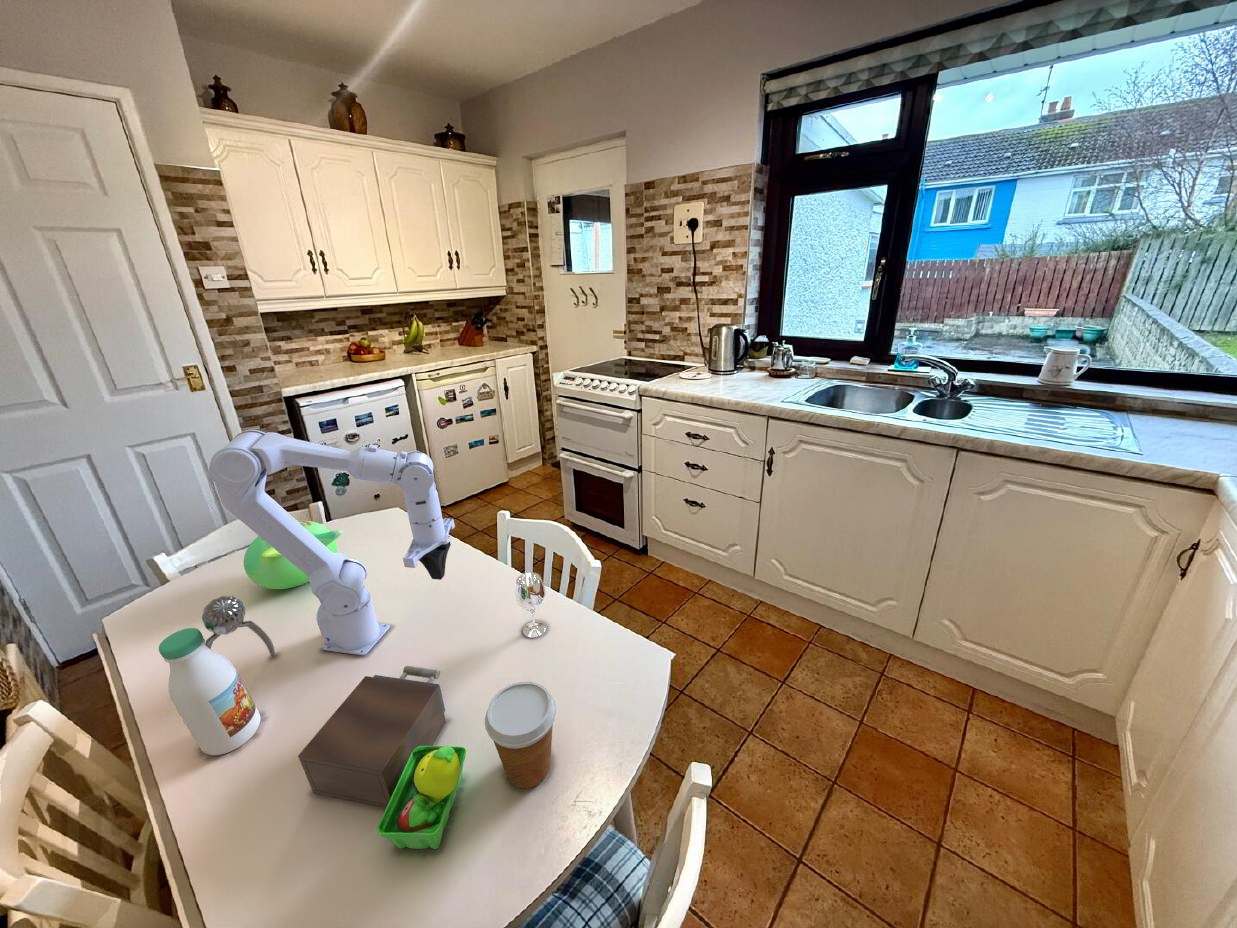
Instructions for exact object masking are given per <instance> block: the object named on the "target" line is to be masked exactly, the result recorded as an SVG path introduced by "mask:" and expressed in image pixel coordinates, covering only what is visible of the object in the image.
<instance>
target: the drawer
mask: <svg viewBox="0 0 1237 928" xmlns="http://www.w3.org/2000/svg"><path fill="white" fill-rule="evenodd" d="M440 675H441V670H440V669H435V668H426V667H420V666H412V665H405V666H404V668H403V669H402V674H401V675H400V677H392V676H385V675H379V674H374V675H373V677H376V678H382V679H389V680H396V681H402V682H409V683H416V684H422V685H429V686H436V687H438V690H439V694H440V698H441V702H442V707H443V711H444V714H445V713H446V708H445V703H444V699H443V698H444V697H443V695H442V694H443V693H442V689H441V685H440V683H434V681H435V680H438V679H439V678H440ZM408 676H410V677H411V676H412V677H418V678H425V679H427V681H419V680H413V679H406V678H407V677H408Z"/></svg>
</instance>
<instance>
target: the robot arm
mask: <svg viewBox="0 0 1237 928" xmlns="http://www.w3.org/2000/svg"><path fill="white" fill-rule="evenodd" d="M290 466H300V467H309V468H319V469H327V470H337V471H345V472H346V471H347V472H348V473H349V474H350V475H351V476H352V477H353V478H354V479H355V480H359V481H365V482H372V483H379V484H384V485H385V484H386V485H392V486H399V488H400V489H401V490H402V491H403V494H404V502H405V503H404V504H405V507H406V512H407V517H408V521H409V525H410V530H411V534H412V540H411V543H410V545H409V547H408V549H407V552H406V553H405V555H403V557H402V561H403V565H404V567H405V568H410V569H415V568H416V567H418V562H420V563H421V564H422V566H423V567H424V568H425V569H426V571H427V573H428V574H429V576H430V578H431V580H437V581H439V580H440V581H441V580H442V579H443V578H444V577H445V575H446V574H445V573H446V564H447V563H446V562H447V558H448V554H449V550H450V547H451V544H452V543H451V541H452V536H451V535H449V534H450V530H454V529H455V527H456V525H455V520H454V518H448V517H447V518H446V517H445V518H443V513H442V508H441V504H440V498H439V497H440V496H439V492H438V490H437V485H436V482H435V475H434V469H435V468H434V467H435V466H434V463H433V460H432V458H431V457H430V456H429V455H428V454H426V453H424V452H421V451H419V450H411V451H405V450H404V451H403V450H401V451H400V452H396V451H391V450H385V449H379V448H378V445H377V444H369V445H368V446H363V445H361V446H359V447H358V448H356V449H354V450H347V449H342V448H338V447H334V446H329V445H325V444H321V443H316V442H312V441H308V440H302V439H298V438H293V437H289V436H286V435H284V434H281V433H278V432H269V431H267V432H264V431H262V430H258V429H247V430H243V431H240V432H239V433H238V434H236V435H235V436H234V437H233V438H232V440H231V441H230V442H229V443H227V444H226V445H225V446H224V447H223V448H220V449H218V450H217V451H216V452H214V454H213V455H212V457H211V459H210V462H209V467H208V471H207V478H209V479H210V480H211V481H212V482H214V484H215V487H216V490H217V493H218V495H219V498H220V499H219V500H220V501H221V504H222V505H223V507H224V508H225V509H226V510H227V511H228V512H229V513H231V514H232V515H233V516H234V517H236V518H237V519H238V520H239V521H241V522H242V523H243V524H244V525H245V526H247V528H249V529H250V530H251V531H252V532H254V533H255V534H256V535H257V536H260V537H261V538H262V539H263V540H265V541H266V542H267V543H268V544H269V545H271V546H272V547H273V548H274V549H275V550H277V551H278V552H279V553H280V554H281V555H283V556H284V557H285V558H286V559H287V560H289V561H290V562H291V563H292V564H293V565H295V566H296V567H297V568H298V569H299V570H301V571H302V572H303V573H304V574H305V575H307V576H308V579H309V582H308V583H309V586H310V589H311V593H312V594H313V596H315V597H316V598H317V599H318V600H319V603H320V605H319V606H318V609H317V612H316V622H317V626H318V628H319V631H320V634H321V635H320V636H321V637H322V640H323V645H322V646H321V650H323V651H329V652H334V653H335V652H336V653H342V654H343V653H344V654H350V655H357V656H366V655H367V654H368V653H369V652H370V651H371V649H372V648H373V647H374V646H375V645H376V644H377V643H378V642H379V641H380V639H382V638H383V636H384V635H385V634H386V633H387V631H388V630H389V629H390V628H391V625H390V624H387V623H386V624H385V623H379V621H378V617H377V614H376V611H375V607H374V603H373V600H372V595H371V592H370V591H369V589H367V586H366V585H365V581H366V579H367V575H368V571H367V568H366V566H365V565H364V564H363V563H362V562H360V561H358V560H356V559H353V558H350V557H348V556H347V555H346V554H345V553H343V552H336V553H333V552H331V551H330V550H329V549H328V548H327V547H326V546H325V545H324V544H322V543H321V542H320V541H319V540H318V539H317V538H316V537H315V536H313V535H312V534H311V533H310V532H309V531H308V530H307V529H306V528H305V527H303V526H302V525H301V524H300V523H299V522H298V521H299V520H297V519H296V518H295V517H293V516H292V514H290V513H289V512H288V511H287V510H286V509H284V508H283V507H282V505H280V504H279V503H278V502H277V501H276V500H274V499H273V498H272V497H271V496H270V495H269V494H268V493H267V492H266V491H265V487H266V483H267V482H266V481H267V476H269V475H272V474H275V473H277V472H279V471H281V470H283V469H286V468H287V467H290Z"/></svg>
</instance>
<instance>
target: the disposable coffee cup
mask: <svg viewBox="0 0 1237 928" xmlns="http://www.w3.org/2000/svg"><path fill="white" fill-rule="evenodd" d="M556 714H557V705H556V701H555V699H554V697H553V696H552V695H551V692H549V691H548V689H547V688H546V687H544V686H543V685H542V684H540V683H537V682H534V681H525V680H524V681H517V682H514V683H512V684H509V685H506V686H505V687H504V688H502V689H501V690H499V691H498V692H497V693H496V694H494V696H493V697H492V698H491V700H490V702H489V704H488V708H487V710H486V712H485V716H484V726H485V731H486V733H487V735H488V737H489V738H490V739H491V740H492V741H493V743H494V746H495V749H496V751H497V754H498V756H499V760H500V762H501V765H502V767H503V769H504V772H505V775H506V778H507V780H508V781H509V782H510V784H511V785H512V786H514V787H515V788H518V789H531V788H534V787H536V786H538V785H539V784H540V783H542V782H543V781H544V780H545V779H546V778H547V776H548V774H549V772H550V769H551V758H552V741H553V740H552V739H553V727H554V722H555V719H556Z"/></svg>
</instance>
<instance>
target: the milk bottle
mask: <svg viewBox="0 0 1237 928" xmlns="http://www.w3.org/2000/svg"><path fill="white" fill-rule="evenodd" d="M205 643H206V639H205V638H204V636H203V633H202V632H201V630H199V629H198V628H196V627H188V628H187V627H186V628H183V629H180V630H177V631H175V632H173V633H172V634H169V635H168V636H167V637H165V638H164V639H163V640H162V641H161V642H160V643H159V645H158V652H159V654H160V655H161V657H162V658H163V660H164V662H166V663H168V664H169V678H168V685H167V686H168V687H167V688H168V695H169V697H170V701H171V702H172V705H173V706H174V708H175V710H176V712H177V713H178V715H179V717H180V718H181V720H182V721H183V723H184V725H185V726H186V728H187V730H188V732H189V733H190V734H191V736H192V738H193V739H194V741H195V742H196V744H197V745H198V748H200V750H201V751H202V753H204V754H206V755H209V756H221V755H224V754H228V753H230V752H232V751H234V750H236V749H238V748H240V747H242V745H244V744H245V743H246V742H248V741H249V740H250V739H251V738H252V737H253V736H254V735H255V733H257V731H258V728H259V727H260V724H261V714H260V712H259V709H258V707H257V706H256V704H255V702H254V700H253V698H252V696H251V694H250V692H249V690H248V689H247V686H246V685H245V683H244V681H243V679H242V677H241V676H240V674H239V672H238V670H237V668H236V667H235V666H234V664H233V663H232V662H231V660H229V659H228V658H227V657H225V656H224V655H222V654H220V653H218V652H216V651H214V650H212V648H211V649H209V648H208V647H207V646H206V645H205Z"/></svg>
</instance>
